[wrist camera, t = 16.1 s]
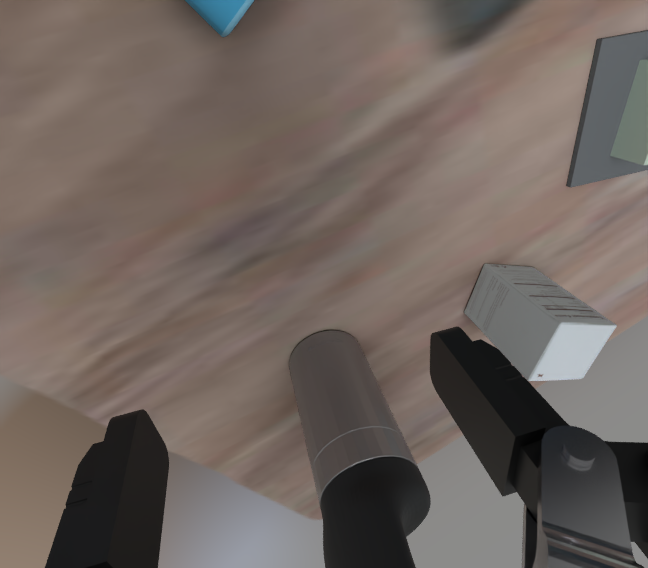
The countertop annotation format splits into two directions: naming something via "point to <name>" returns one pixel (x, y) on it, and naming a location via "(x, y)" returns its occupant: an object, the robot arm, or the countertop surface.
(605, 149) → the mat
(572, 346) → the supplement box
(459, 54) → the countertop surface
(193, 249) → the countertop surface
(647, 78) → the box
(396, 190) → the countertop surface
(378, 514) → the robot arm
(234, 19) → the blue box
